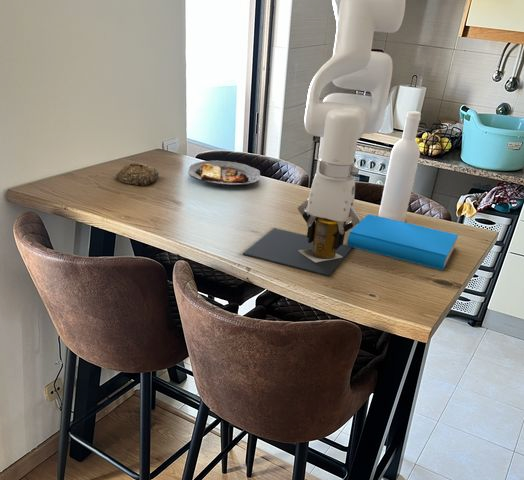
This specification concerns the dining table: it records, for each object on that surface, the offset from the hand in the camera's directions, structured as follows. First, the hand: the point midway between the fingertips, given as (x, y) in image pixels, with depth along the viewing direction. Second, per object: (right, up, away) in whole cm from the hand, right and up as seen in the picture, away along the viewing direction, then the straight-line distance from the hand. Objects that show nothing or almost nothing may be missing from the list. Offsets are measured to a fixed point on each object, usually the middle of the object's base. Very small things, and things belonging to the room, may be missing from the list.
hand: (324, 243), depth 136 cm
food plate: (-28, +31, +50) cm, 65 cm away
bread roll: (-55, +28, +41) cm, 74 cm away
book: (+22, +1, +11) cm, 24 cm away
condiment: (-1, -3, +2) cm, 3 cm away
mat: (-6, -1, +4) cm, 7 cm away
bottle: (+23, +12, +28) cm, 38 cm away
